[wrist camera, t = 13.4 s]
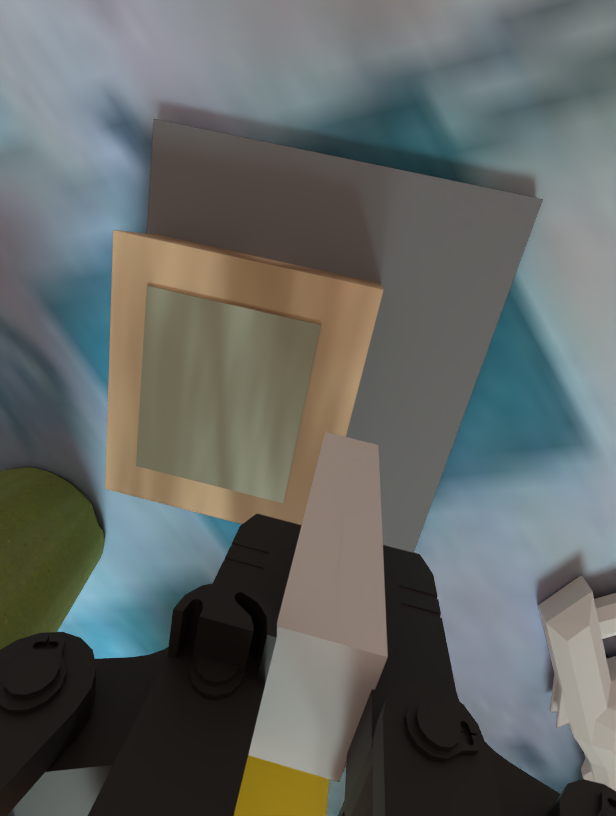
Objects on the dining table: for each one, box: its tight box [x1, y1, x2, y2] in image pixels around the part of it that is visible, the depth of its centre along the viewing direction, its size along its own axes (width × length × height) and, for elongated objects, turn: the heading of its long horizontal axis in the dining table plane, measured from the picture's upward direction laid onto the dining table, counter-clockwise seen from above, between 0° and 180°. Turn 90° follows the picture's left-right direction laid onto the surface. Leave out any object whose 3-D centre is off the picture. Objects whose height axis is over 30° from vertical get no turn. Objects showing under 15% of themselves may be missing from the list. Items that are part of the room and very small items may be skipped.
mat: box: [147, 119, 543, 553], centre depth 18 cm, size 16×14×1 cm
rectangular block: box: [105, 230, 383, 525], centre depth 17 cm, size 3×10×9 cm
